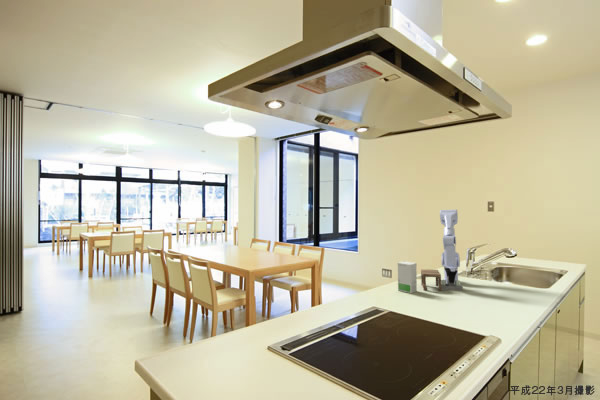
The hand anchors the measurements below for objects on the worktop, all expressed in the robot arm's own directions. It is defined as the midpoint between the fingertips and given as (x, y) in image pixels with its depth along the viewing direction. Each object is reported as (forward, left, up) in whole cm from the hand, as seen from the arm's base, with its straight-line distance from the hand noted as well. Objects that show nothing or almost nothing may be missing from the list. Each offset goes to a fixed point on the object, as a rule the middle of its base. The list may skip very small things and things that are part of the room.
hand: (451, 281), depth 176 cm
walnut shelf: (0, -10, -4) cm, 11 cm away
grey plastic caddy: (0, 0, -4) cm, 4 cm away
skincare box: (+8, -23, -4) cm, 25 cm away
